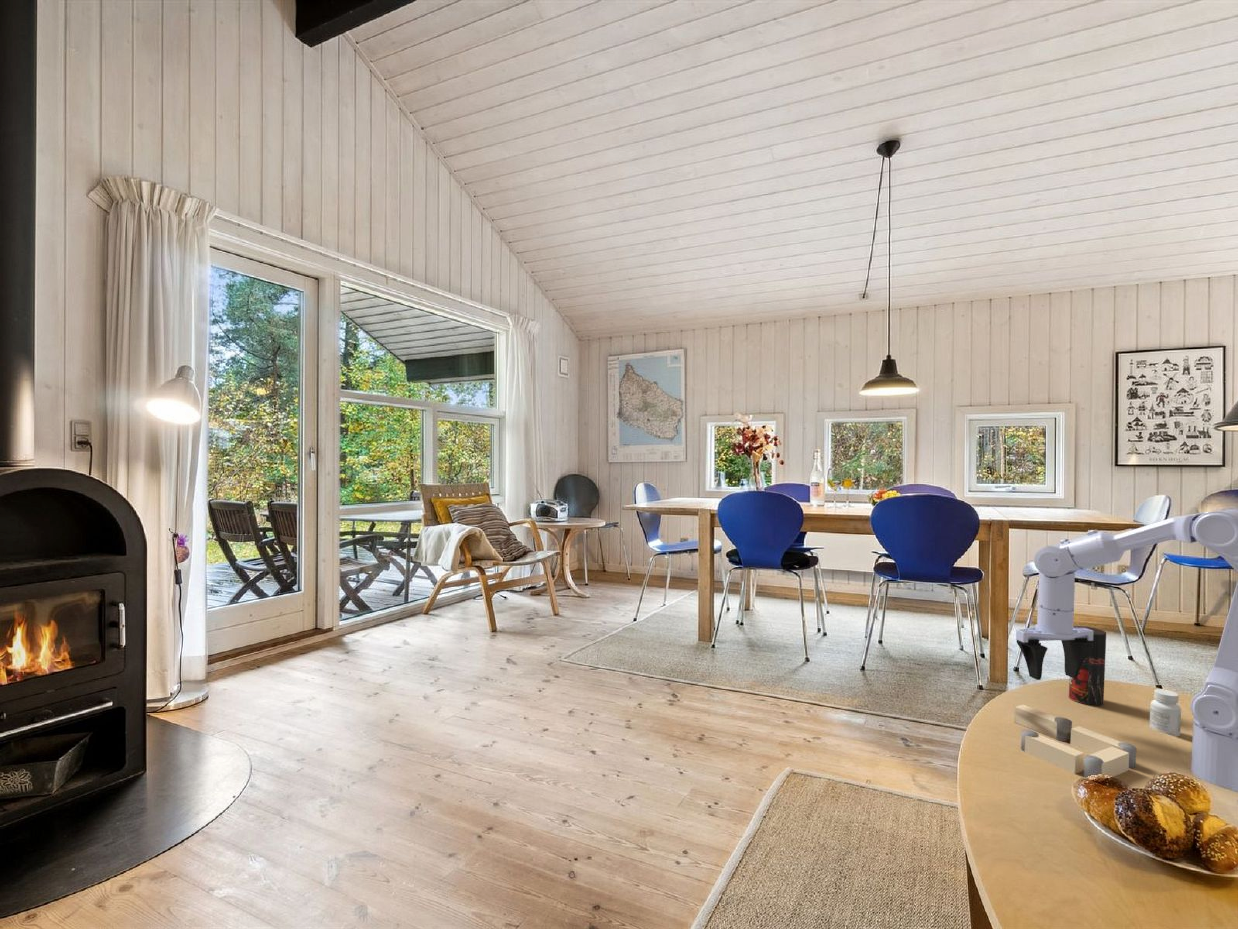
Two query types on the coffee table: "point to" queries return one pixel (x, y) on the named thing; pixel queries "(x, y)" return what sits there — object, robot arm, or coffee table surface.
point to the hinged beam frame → (1102, 760)
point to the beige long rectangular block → (1044, 723)
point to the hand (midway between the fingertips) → (1053, 677)
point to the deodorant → (1091, 673)
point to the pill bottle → (1165, 712)
